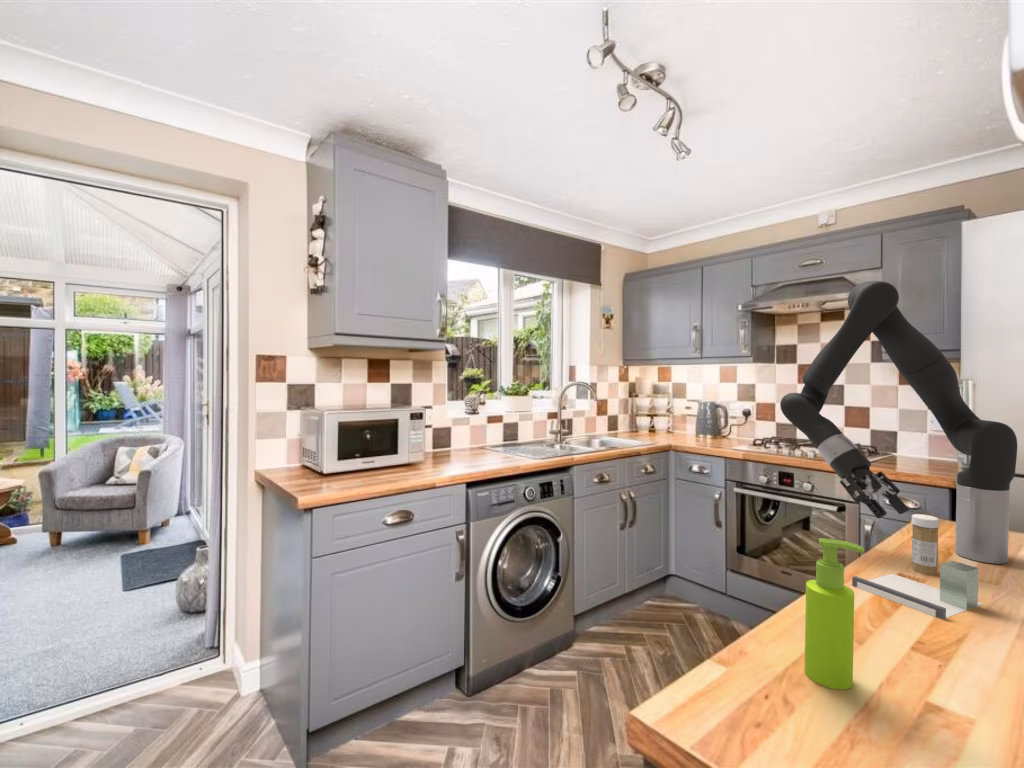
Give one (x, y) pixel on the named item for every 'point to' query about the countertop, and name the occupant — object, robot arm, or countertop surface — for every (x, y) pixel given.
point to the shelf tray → (909, 594)
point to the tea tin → (959, 584)
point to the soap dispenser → (830, 620)
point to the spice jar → (925, 544)
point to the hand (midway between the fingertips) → (894, 514)
